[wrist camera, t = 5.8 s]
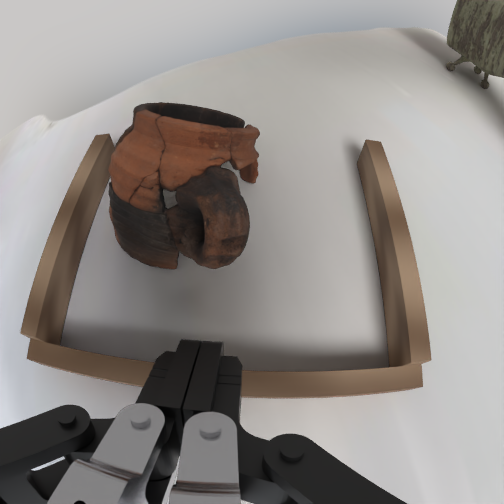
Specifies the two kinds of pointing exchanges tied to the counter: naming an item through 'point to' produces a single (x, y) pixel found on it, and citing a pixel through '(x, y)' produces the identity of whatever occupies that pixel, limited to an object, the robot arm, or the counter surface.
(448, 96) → the counter surface
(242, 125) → the pottery mug
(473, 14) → the tabletop clock
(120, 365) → the walnut mug dock
